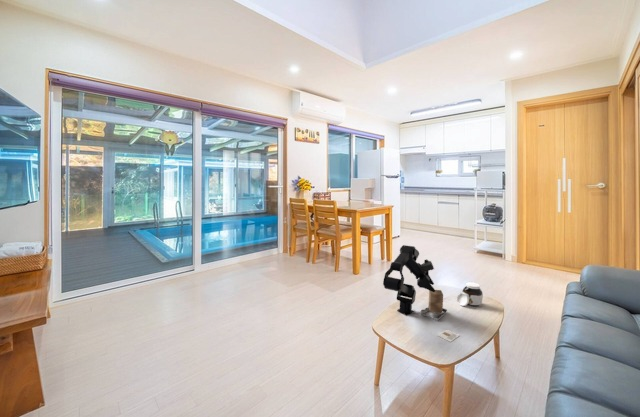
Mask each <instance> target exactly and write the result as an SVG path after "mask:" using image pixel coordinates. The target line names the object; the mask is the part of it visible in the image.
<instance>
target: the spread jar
mask: <svg viewBox="0 0 640 417" xmlns="http://www.w3.org/2000/svg"><path fill="white" fill-rule="evenodd" d="M480 287H481V285H480V284H479V283H477V282H473V281H471V282H470V281H468V282H466V283H465V286H464V287H463V289H462V292H460V293H458V294H457V296H456V302H457V304H458V305H459V306H463V307H464V306H469V307H473V308H476V307H477V308H478V307H479V306H481V304H482V303H483V297H484V296H483V295H484V294H483V291H482V289H481V288H480Z"/></svg>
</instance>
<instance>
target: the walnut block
mask: <svg viewBox="0 0 640 417" xmlns="http://www.w3.org/2000/svg"><path fill="white" fill-rule="evenodd" d="M428 307H429V312H430V313H436V314H443V308H444V294H443V291H442V290H441V289H435V292H432V291H430V290H428Z"/></svg>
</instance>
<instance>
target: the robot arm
mask: <svg viewBox="0 0 640 417" xmlns="http://www.w3.org/2000/svg"><path fill="white" fill-rule="evenodd" d="M419 256H420V252H419V250H418V249H417V248H416V247H415V246H412V245H407V244H403V245H402V246H401V247H400V248H399V254H398V255H397V257H396V258H395V259H394V261H392V262H391V263H390V268H389V269H388V270H387V271H386V272H385V273H384V276H383V277H384V278H383V281H382V282H383V283H382V286H383V288H384V289H386V290H389V291H394V292H397V293H396V301H399V308H398V309H397V312H398V313H400V314H402V315H405V316H409V315H412V314H413V313H415V311H414V310H412V308H413V307H412V306H413V304H414V303H415V302H416V297H417V296H416V294H417V291H416V288H415V285H412V284H408V283H404V282H405V277H404V274H403V269H404V267H406V269H407V270H408V271H409V273H410V274H413V276H415V279H416V280H417V281H416V285H417V286H418V288H420V289H425V290H428V291H429V290H430V291H432V292H435V290H436V289H435V288H434V285H435V283H434V281H433V280H432V278H431V276H430V275H429V274H430V273H429V272H430V271H433V270H435V267H434V265H433V262H432V260H428V259H424V261H423V262H422V264H421V263H419V262H417V260H418V258H419ZM394 271H396V272H399V273H400V278H396V277H391V276H390V275H391V273H392V272H394Z"/></svg>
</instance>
